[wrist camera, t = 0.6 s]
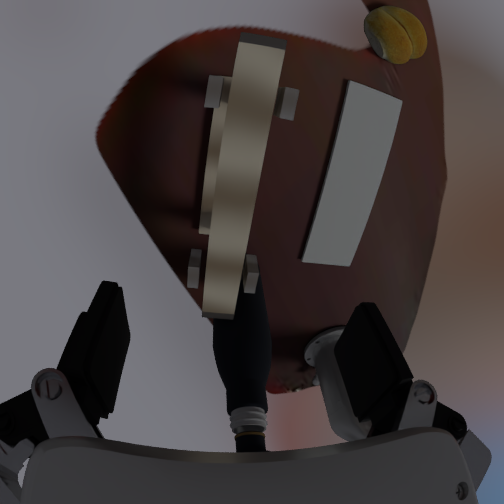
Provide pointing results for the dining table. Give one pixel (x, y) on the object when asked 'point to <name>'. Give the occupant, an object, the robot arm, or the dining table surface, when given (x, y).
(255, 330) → the wine bottle
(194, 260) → the rack
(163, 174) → the dining table surface
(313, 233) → the mat
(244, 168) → the rail
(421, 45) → the bread roll
